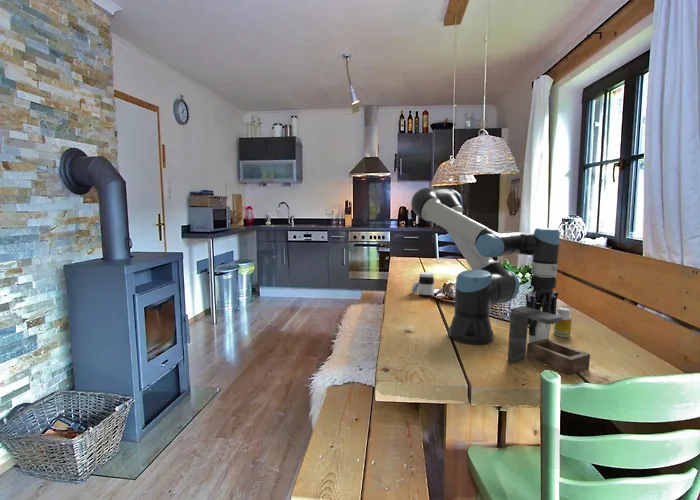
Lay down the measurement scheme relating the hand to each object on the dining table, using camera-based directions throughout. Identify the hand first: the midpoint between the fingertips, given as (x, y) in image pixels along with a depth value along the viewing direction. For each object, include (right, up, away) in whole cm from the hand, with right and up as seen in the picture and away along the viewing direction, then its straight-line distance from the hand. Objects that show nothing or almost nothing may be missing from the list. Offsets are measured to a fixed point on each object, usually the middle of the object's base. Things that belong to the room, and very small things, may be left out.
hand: (538, 342), depth 132 cm
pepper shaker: (0, -1, 0) cm, 1 cm away
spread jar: (-27, +8, +67) cm, 72 cm away
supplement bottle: (+14, 0, +11) cm, 17 cm away
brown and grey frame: (-5, -3, -16) cm, 17 cm away
